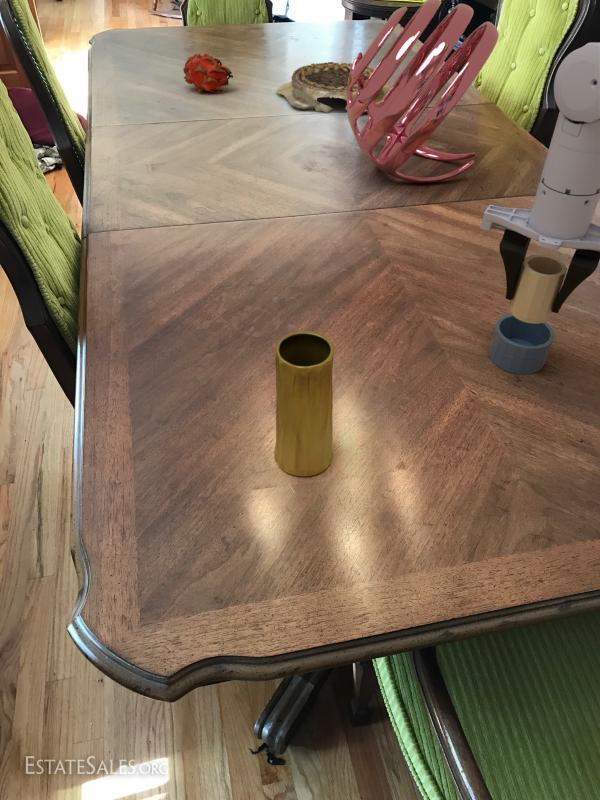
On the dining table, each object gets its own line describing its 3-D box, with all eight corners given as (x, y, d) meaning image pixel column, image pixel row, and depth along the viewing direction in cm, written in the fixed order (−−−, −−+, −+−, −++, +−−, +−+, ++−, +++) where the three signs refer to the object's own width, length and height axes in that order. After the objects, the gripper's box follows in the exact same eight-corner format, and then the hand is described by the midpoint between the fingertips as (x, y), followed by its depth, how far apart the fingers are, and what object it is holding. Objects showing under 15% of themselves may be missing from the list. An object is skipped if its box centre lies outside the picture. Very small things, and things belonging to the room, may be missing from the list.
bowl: (550, 349, 77) (560, 323, 74) (537, 381, 72) (547, 355, 70) (497, 332, 79) (504, 307, 76) (481, 363, 75) (488, 337, 72)
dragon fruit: (183, 94, 148) (231, 105, 148) (173, 81, 140) (223, 93, 139) (191, 57, 147) (239, 69, 146) (181, 41, 138) (232, 54, 138)
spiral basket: (565, 46, 104) (445, -72, 97) (526, 144, 90) (385, 14, 84) (456, 150, 127) (354, 60, 121) (412, 239, 114) (295, 144, 108)
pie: (265, 82, 150) (264, 59, 147) (369, 72, 156) (371, 50, 153) (299, 122, 131) (299, 98, 127) (416, 110, 137) (419, 86, 133)
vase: (282, 483, 61) (279, 376, 51) (268, 439, 65) (263, 333, 56) (340, 470, 62) (349, 364, 52) (322, 428, 67) (327, 322, 57)
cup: (554, 307, 69) (570, 260, 65) (545, 328, 67) (561, 281, 62) (515, 296, 71) (529, 250, 67) (505, 316, 68) (518, 269, 64)
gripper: (484, 182, 58) (458, 301, 68) (648, 218, 53) (595, 341, 63) (504, 155, 63) (477, 270, 72) (657, 186, 58) (606, 305, 67)
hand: (532, 301), depth 68 cm, fingers closed on cup, 4 cm apart
